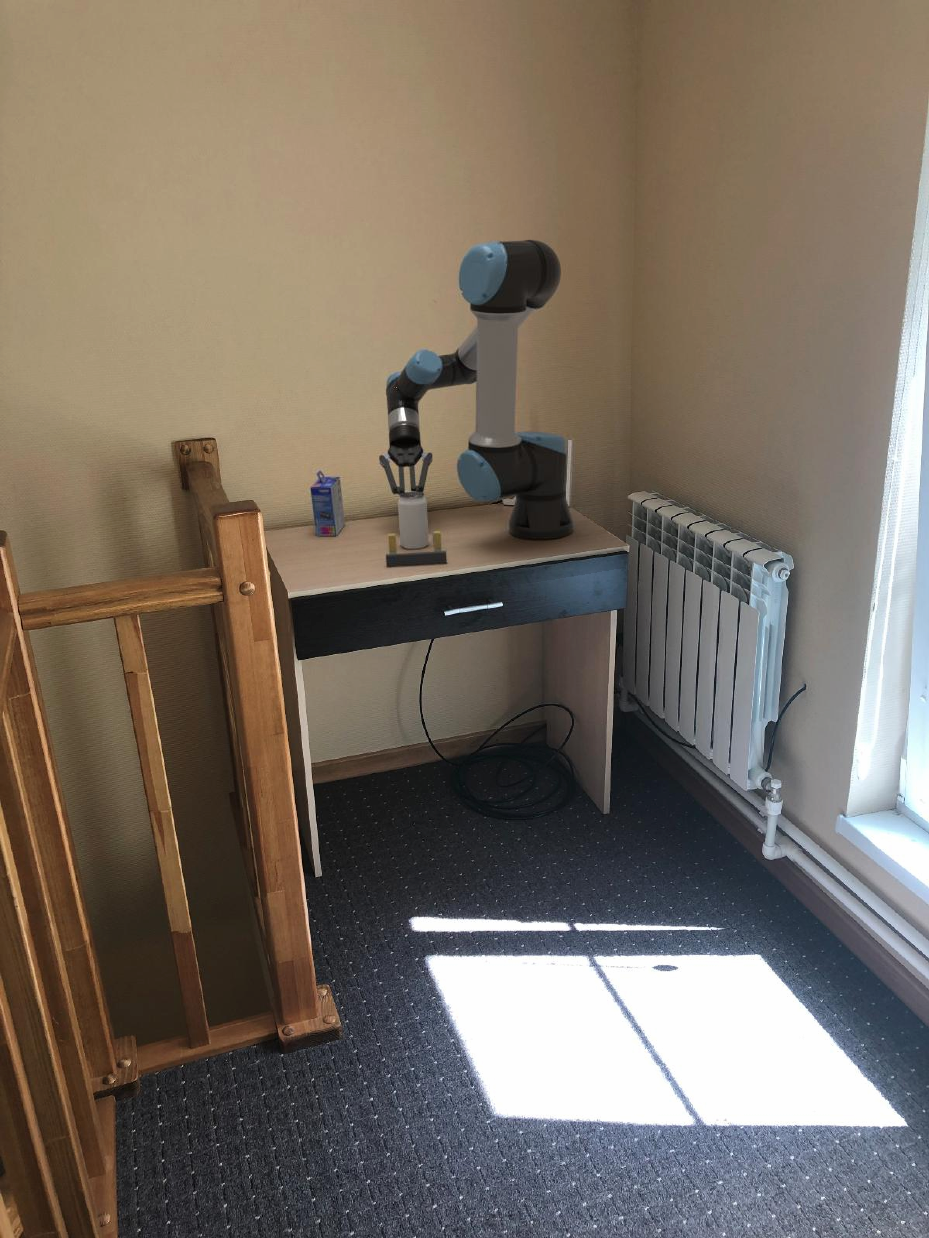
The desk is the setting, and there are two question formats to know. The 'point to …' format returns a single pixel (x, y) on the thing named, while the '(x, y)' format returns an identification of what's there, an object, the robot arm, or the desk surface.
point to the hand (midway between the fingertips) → (409, 518)
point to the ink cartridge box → (327, 505)
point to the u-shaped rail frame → (416, 554)
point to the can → (413, 520)
